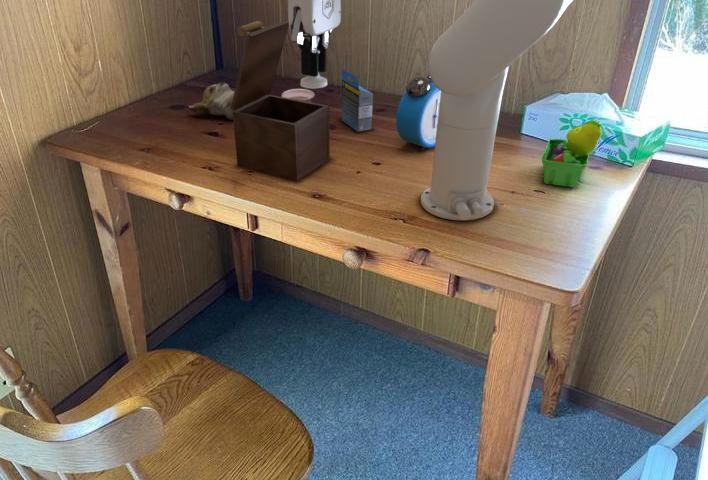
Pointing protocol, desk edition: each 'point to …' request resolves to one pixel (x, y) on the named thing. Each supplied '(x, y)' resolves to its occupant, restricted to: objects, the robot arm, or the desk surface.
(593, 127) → the fruit basket
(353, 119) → the blue cardboard box
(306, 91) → the teacup
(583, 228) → the desk surface
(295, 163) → the chest
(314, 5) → the robot arm
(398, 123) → the alarm clock
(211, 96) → the ceramic sculpture
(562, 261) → the desk surface
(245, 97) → the lid
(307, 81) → the chess piece
